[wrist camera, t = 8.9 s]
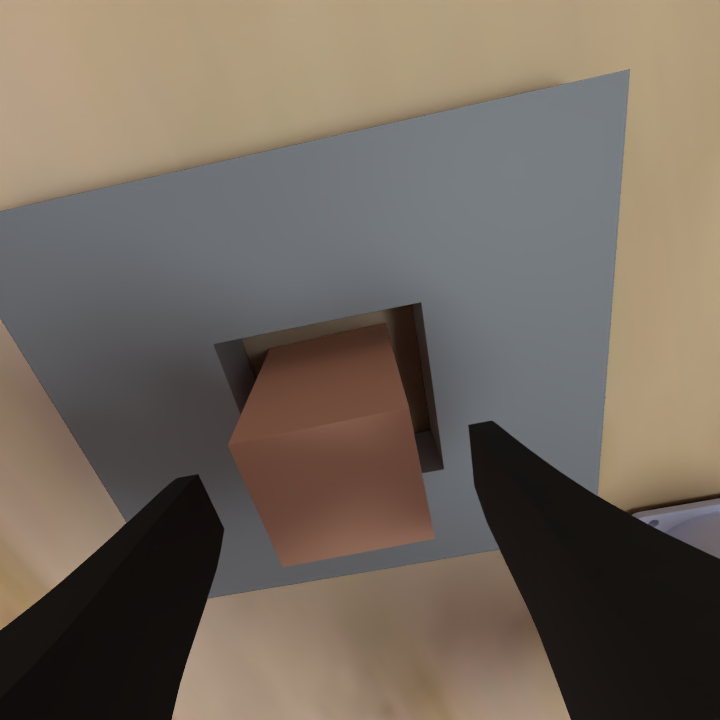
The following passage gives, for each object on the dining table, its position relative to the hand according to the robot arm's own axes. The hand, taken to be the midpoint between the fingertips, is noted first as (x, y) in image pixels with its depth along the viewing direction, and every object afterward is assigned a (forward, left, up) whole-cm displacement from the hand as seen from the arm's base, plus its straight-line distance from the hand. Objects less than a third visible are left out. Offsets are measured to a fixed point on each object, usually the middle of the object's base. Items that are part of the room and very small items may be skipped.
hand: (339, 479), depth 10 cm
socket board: (0, 0, -6) cm, 6 cm away
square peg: (0, 0, -6) cm, 6 cm away
